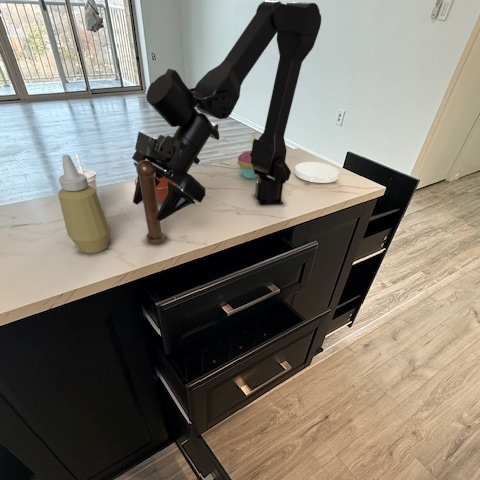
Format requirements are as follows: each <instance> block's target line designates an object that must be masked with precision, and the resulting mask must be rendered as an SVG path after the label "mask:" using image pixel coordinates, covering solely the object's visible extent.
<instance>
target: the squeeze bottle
mask: <svg viewBox="0 0 480 480" xmlns="http://www.w3.org/2000/svg"><path fill="white" fill-rule="evenodd" d="M61 160H62V168H63V174H62V175H61V176H59V177H58V183H59V185H60V187H61V188H60V189H59V191H58V193H57V196H58V200H59V204H60V208H61V213H62V216H63V220H64V225H65V229H66V234H67V236H68V237H69V239H71V241H72V242H73V243H74V244H75V246H76V247H77V248H78V249H79V251H80V252H81V253H85V254H96V253H99V252H103V251H104V250H106V249H107V248H108V246H109V238H110V232H111V231H110V225H109V222H108V219H107V217H106V215H105V211H104V209H103V206H102V204H101V201H100V199H99V195H98V196H97V193H96V190H95V189H94V188H93V187H91V186H90V185H88V181H87V177H86V176H85V175H84V174H81V173H78V171H77V169H78V168H77V166H76V165H75V163H74V161H73V159H72V158H71V156H70V155H69V154H63V155H62V156H61Z"/></svg>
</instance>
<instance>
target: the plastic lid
mask: <svg viewBox="0 0 480 480" xmlns="http://www.w3.org/2000/svg"><path fill="white" fill-rule="evenodd" d="M294 175H295V176H296V177H297V178H299V179H301V180H303V181H306V182H310V183H316V184H317V183H318V184H328V183H333V182H336V181H338V179H339V177H340V170H339V169H338V168H337V167H335V166H333V165H331V164H328V163H325V162H324V163H323V162H318V161H317V162H316V161H305V162H300V163H297V164H296V165H295V167H294Z"/></svg>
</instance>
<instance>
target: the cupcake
mask: <svg viewBox="0 0 480 480" xmlns="http://www.w3.org/2000/svg"><path fill="white" fill-rule="evenodd" d="M255 133H256V132H255V131H253V135H252V140H251V141H252V142H251V146H252V145H253V141H254V139H256V134H255ZM251 151H252V150H245V151H243V152H241V153H240V154H239V155H238V156H237V165H238V166H239V167H240V169H241V173H242V174H241V175H242V177H243V178H245V179H256V178H258V176H259V175H256V174H254V170H253V166H252V164H251V156H250V154H251Z"/></svg>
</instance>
